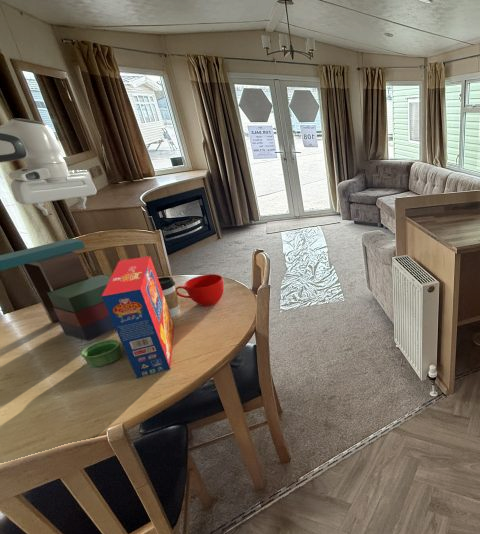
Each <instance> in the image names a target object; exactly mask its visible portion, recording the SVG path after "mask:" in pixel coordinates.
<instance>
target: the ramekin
mask: <svg viewBox="0 0 480 534" xmlns="http://www.w3.org/2000/svg"><path fill="white" fill-rule="evenodd" d="M80 355H81V357H82V358H83V359H84V360H85V362H86V363H87V365H88V366H90V367H94V368H95V367H97V368H98V367H102V366H106V365H110V364H112V363H114V362H115V361H118V359H120V358H121V357H122V355H123V351H122V348H121V340H118V339H104V340H101V341H98V342H95V343H92V344H89V346H87V347H85V348H84V349H83V350H82V351H81V353H80Z"/></svg>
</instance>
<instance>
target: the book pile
mask: <svg viewBox="0 0 480 534" xmlns="http://www.w3.org/2000/svg"><path fill="white" fill-rule="evenodd" d="M110 278H111V276H108V275H103V274H98V275H96V276H93V277H89V278H88V279H87V280H84V281H81V282H78V283H75V284H72V285H69V286H66V287H63V288H60V289H57V290H54V291H51V292H48V293H47V294H48V296H49V298H50V300H51V302H52V304H53V306H54V308H53V309H54V311H55V313H56V314H57V316H58V318H59V320H60V321H58V323H59V324H60V327H61V329H62V331H63V333H64V335H66V336H70V337H72V338H75V339H79V340H82V341H85V342H90V341H92V340H94V339H97V338H98V337H100V336H102V335H105V334H107V333H109V332H111V331H114V330H116V329H115V326H114V324H113V322H112V319H111V317H110V315H109V312H108V310H107V308H106V305H105V303H104V301H103V298H102V295H103V293H104V291H105V289H106V287H107V284H108V282H109V280H110Z"/></svg>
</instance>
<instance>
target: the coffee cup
mask: <svg viewBox="0 0 480 534" xmlns="http://www.w3.org/2000/svg"><path fill="white" fill-rule="evenodd" d="M158 280H159V283H160V286H161V289H162V291H163V294H164V297H165V300H166V303H167V306H168V309H169V312H170V315H171V318H172V319H173V318H174V317H177V316H178V315H180V314H181V310H180V304H179V298H178V295H177V293H176V288H177V287H176V286H175V285H176V282H175V281H174V279H173V277H172V276H162V277H158Z"/></svg>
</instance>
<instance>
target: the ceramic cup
mask: <svg viewBox="0 0 480 534" xmlns="http://www.w3.org/2000/svg"><path fill="white" fill-rule="evenodd" d="M175 288H176V293H177V297H178V296H179V298H185V299H191V300H192V301H193V302H195V304H198V305H200V306H202V307H209V306H210V307H211V306H214V305H216V304H218V303H219V302H218V301H220V300H221V298H223V295H224V291H225V290H224V289H225V285H224V279H223V276H222V275H219V274H215V273H213V274H210V273H209V274H202V275H199V276H195V277H192V278H190V279H188V280H186V281H185V283H184V286H183V285H180V286H179V285H178V286H176V287H175ZM178 289H183V290H185V291H186V292H187V295H186V294H182V293H181V292H179V291H178Z"/></svg>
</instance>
